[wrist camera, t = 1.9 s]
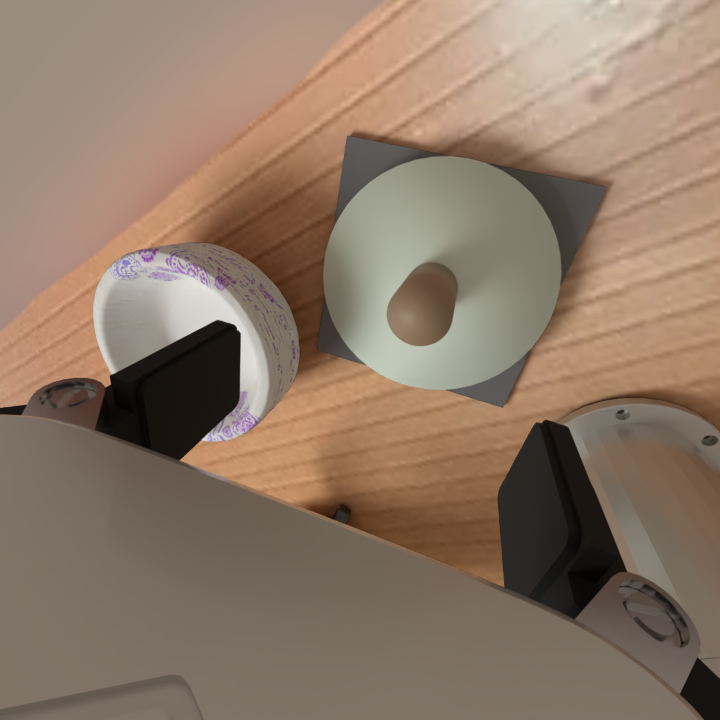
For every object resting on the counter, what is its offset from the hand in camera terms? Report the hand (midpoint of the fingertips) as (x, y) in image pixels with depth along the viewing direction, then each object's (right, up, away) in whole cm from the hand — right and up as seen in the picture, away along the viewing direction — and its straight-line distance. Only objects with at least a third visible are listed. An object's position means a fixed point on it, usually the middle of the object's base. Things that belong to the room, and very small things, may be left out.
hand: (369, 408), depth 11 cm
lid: (+5, +7, +15) cm, 17 cm away
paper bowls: (-11, +5, +22) cm, 25 cm away
